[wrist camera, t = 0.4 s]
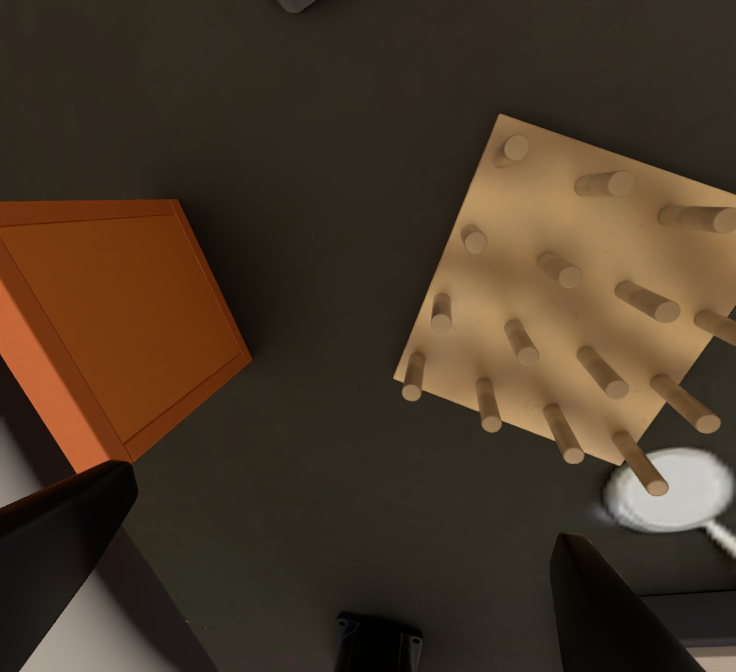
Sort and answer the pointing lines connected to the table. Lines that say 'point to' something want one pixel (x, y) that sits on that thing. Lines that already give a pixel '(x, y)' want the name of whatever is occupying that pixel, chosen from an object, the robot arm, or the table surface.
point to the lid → (111, 321)
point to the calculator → (701, 625)
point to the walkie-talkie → (295, 5)
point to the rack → (576, 296)
